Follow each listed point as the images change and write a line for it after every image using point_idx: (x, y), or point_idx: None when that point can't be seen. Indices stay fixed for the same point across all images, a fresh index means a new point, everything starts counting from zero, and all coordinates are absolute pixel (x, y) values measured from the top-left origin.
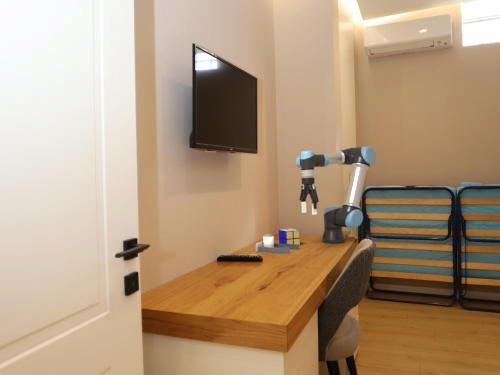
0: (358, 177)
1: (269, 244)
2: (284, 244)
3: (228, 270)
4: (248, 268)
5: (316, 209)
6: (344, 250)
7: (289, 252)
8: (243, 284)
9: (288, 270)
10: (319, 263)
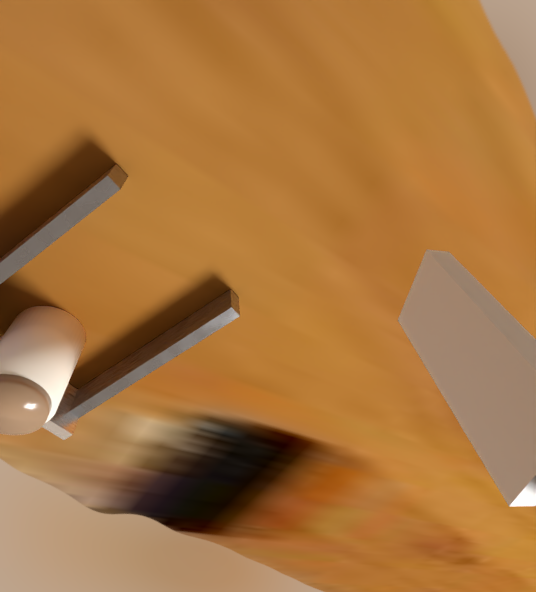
0: None
1: (73, 368)
2: (35, 254)
3: (361, 531)
4: (380, 494)
5: (495, 311)
6: None
7: (233, 296)
8: (509, 531)
9: None
10: (528, 286)
